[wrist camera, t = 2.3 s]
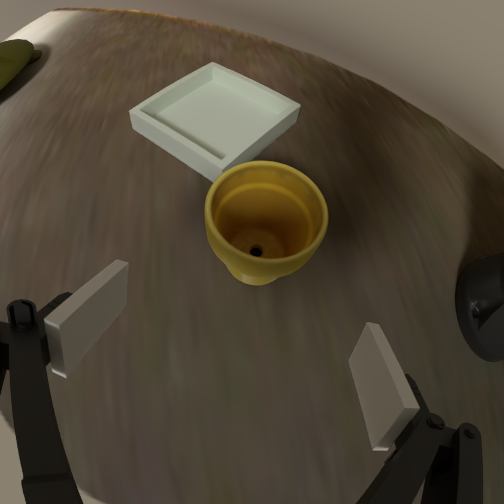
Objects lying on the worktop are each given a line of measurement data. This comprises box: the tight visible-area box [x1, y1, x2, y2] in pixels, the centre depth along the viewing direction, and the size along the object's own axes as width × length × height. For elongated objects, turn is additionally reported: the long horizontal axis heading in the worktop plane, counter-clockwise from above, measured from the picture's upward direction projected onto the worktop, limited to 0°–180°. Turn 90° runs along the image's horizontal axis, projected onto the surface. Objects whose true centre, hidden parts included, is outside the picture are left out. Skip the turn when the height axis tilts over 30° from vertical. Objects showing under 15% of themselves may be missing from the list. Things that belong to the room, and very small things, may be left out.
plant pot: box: [205, 161, 328, 285], centre depth 30 cm, size 10×10×10 cm
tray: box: [129, 62, 301, 183], centre depth 41 cm, size 17×17×4 cm
